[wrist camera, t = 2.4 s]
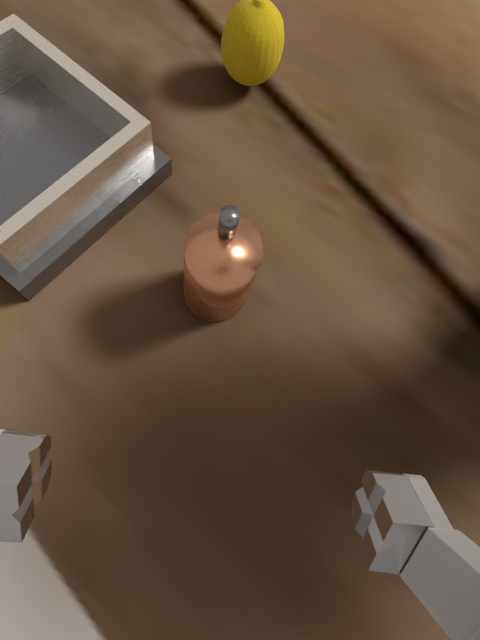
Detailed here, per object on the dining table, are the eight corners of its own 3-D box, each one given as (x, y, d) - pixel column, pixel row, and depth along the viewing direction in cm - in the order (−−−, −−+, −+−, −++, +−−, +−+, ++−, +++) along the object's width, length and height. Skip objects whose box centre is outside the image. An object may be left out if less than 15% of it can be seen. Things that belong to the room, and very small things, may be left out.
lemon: (250, 114, 39) (267, 35, 31) (206, 81, 39) (212, -6, 32) (283, 83, 41) (307, 1, 33) (241, 51, 41) (254, -37, 34)
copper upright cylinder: (241, 325, 33) (266, 277, 23) (179, 317, 32) (178, 263, 23) (247, 269, 34) (273, 202, 25) (188, 260, 34) (191, 187, 24)
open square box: (39, 68, 37) (14, 0, 31) (171, 173, 36) (170, 122, 30) (-118, 173, 32) (-182, 114, 26) (29, 300, 31) (-5, 268, 25)
